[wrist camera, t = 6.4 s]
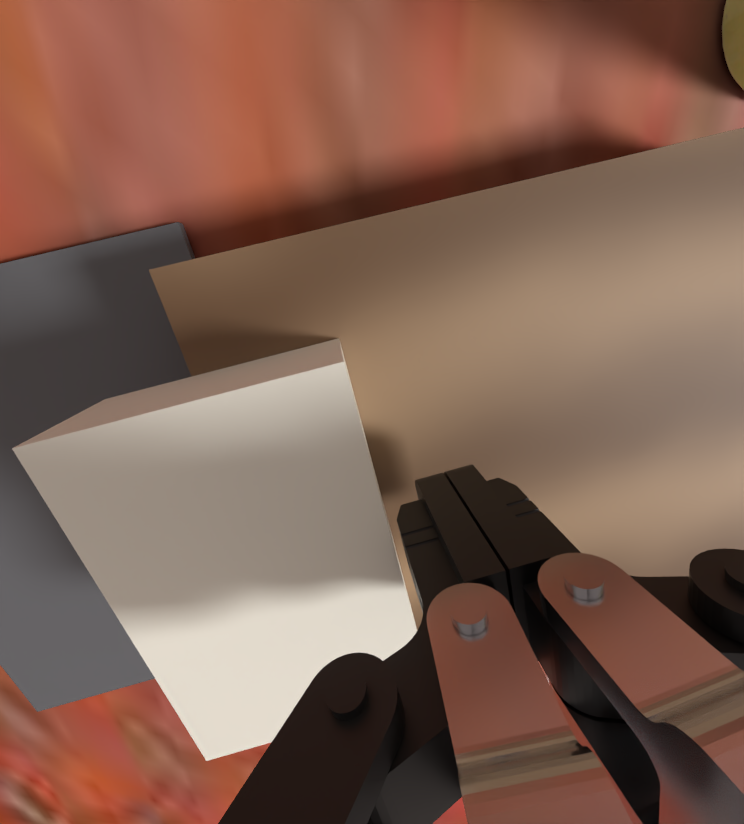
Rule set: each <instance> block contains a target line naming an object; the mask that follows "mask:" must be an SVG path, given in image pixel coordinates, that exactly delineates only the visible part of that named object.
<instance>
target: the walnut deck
mask: <svg viewBox="0 0 744 824" xmlns="http://www.w3.org/2000/svg"><path fill="white" fill-rule="evenodd" d="M149 272H150V274H151V277H152V279H153V282H154V284H155V287H156V289H157V292H158V294H159V297H160V299H161V302H162V304H163V307H164V309H165V312H166V314H167V317H168V319H169V321H170V324H171V326H172V329H173V331H174V334H175V336H176V339H177V341H178V344H179V346H180V349H181V351H182V354H183V356H184V359H185V361H186V364H187V366H188V369H189V371H190V374H191V376H196V375H200V374H204V373H207V372H211V371H215V370H219V369H223V368H227V367H230V366H234V365H238V364H242V363H246V362H250V361H254V360H257V359H261V358H265V357H269V356H273V355H277V354H280V353H284V352H288V351H292V350H296V349H300V348H303V347H307V346H311V345H315V344H319V343H323V342H327V341H330V340H334V339H338V338H339V340H340V344H341V348H342V351H343V355H344V359H345V363H346V366H347V370H348V374H349V377H350V381H351V385H352V389H353V392H354V396H355V400H356V403H357V407H358V411H359V415H360V418H361V422H362V426H363V429H364V433H365V437H366V441H367V444H368V448H369V452H370V456H371V459H372V463H373V467H374V470H375V474H376V478H377V482H378V485H379V489H380V493H381V496H382V500H383V504H384V508H385V511H386V515H387V519H388V523H389V526H390V530H391V534H392V537H393V541H394V545H395V549H396V552H397V556H398V560H399V563H400V567H401V571H402V575H403V578H404V582H405V586H406V590H407V593H408V597H409V601H410V604H411V608H412V612H413V616H414V620H415V624H416V628H417V630H418V628H419V626H420V624H421V621H422V617H423V612H422V609H421V606H420V602H419V599H418V596H417V593H416V589H415V586H414V583H413V579H412V576H411V573H410V570H409V566H408V562H407V558H406V554H405V550H404V547H403V543H402V539H401V535H400V531H399V527H398V523H397V516H398V513H399V509H400V506H401V505H402V504H406V503H409V502H413V501H417V500H418V496H417V491H416V487H415V480H417V479H421V478H424V477H428V476H432V475H435V474H439V473H444V472H446V471H449V470H453V469H456V468H460V467H464V466H467V465H471V464H472V465H474V466H475V468H476V469H477V470H478V471H479V472H480V474H481V475H482V476H483V477H484V478H485V480H486V481H488V480H491V479H495V478H501V479H503V480H505V481H508V482H510V483H512V484H514V485H516V486H518V488H519V489H520V490H521V491H522V492H523V493H524V494H525V495H526V496H527V497H528V498H529V501H532V502H533V503H534V504H535V505H536V506H537V507H538V508H539V511H541V512H542V513H543V514H544V515H545V516H546V517H547V518H548V519H549V520H550V521H551V522H552V523H553V524H554V525H555V526H556V527H557V528H558V529H559V530H560V531H561V532H562V533H563V534H564V535H565V537H566V538H567V539H568V540H569V541H570V542H571V543H572V544H573V545H574V546H575V547H576V548H577V549H578V550H579V551H580V552H581V553H586V554H591V555H595V556H598V557H601V558H603V559H606V560H608V561H610V562H612V563H613V564H615V565H617V566H618V567H619V568H621V569H622V570H623V571H624V572H626V573H627V574H628V575H630V576H639V577H668V576H689V567H690V563H691V561H692V559H693V558H694V557H695V556H696V555H698V554H700V553H701V552H704V551H707V550H712V549H723V548H726V549H739V550H744V128H740V129H736V130H732V131H727V132H723V133H719V134H715V135H711V136H707V137H702V138H698V139H694V140H690V141H686V142H681V143H677V144H673V145H669V146H665V147H660V148H656V149H652V150H648V151H644V152H640V153H635V154H631V155H627V156H623V157H619V158H614V159H610V160H606V161H602V162H598V163H594V164H589V165H585V166H581V167H577V168H573V169H568V170H564V171H560V172H556V173H552V174H547V175H543V176H539V177H535V178H531V179H527V180H522V181H518V182H514V183H510V184H506V185H501V186H497V187H493V188H489V189H485V190H481V191H476V192H472V193H468V194H464V195H460V196H455V197H451V198H447V199H443V200H439V201H435V202H430V203H426V204H422V205H418V206H414V207H409V208H405V209H401V210H397V211H393V212H388V213H384V214H380V215H376V216H372V217H368V218H363V219H359V220H355V221H351V222H347V223H342V224H338V225H334V226H330V227H326V228H322V229H317V230H313V231H309V232H305V233H301V234H296V235H292V236H288V237H284V238H280V239H275V240H271V241H267V242H263V243H259V244H255V245H250V246H246V247H242V248H238V249H234V250H229V251H225V252H221V253H217V254H213V255H209V256H204V257H200V258H196V259H192V260H188V261H183V262H179V263H175V264H171V265H167V266H162V267H158V268H154V269H150V270H149Z"/></svg>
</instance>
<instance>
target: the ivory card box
mask: <svg viewBox="0 0 744 824" xmlns="http://www.w3.org/2000/svg"><path fill="white" fill-rule="evenodd" d="M12 450H13V451H14V453H15V454H16V456H17V458H18V459H19V461H20V462H21V464H22V466H23V467H24V469H25V470H26V472H27V474H28V475H29V477H30V478H31V480H32V482H33V483H34V485H35V486H36V488H37V490H38V491H39V493H40V494H41V496H42V498H43V499H44V501H45V502H46V504H47V506H48V507H49V509H50V510H51V512H52V514H53V515H54V517H55V519H56V520H57V522H58V523H59V525H60V527H61V528H62V530H63V531H64V533H65V535H66V536H67V538H68V539H69V541H70V543H71V544H72V546H73V547H74V549H75V551H76V552H77V554H78V555H79V557H80V559H81V560H82V562H83V563H84V565H85V567H86V568H87V570H88V571H89V573H90V575H91V576H92V578H93V579H94V581H95V583H96V584H97V586H98V588H99V589H100V591H101V592H102V594H103V596H104V597H105V599H106V600H107V602H108V604H109V605H110V607H111V608H112V610H113V612H114V613H115V615H116V616H117V618H118V620H119V621H120V623H121V624H122V626H123V628H124V629H125V631H126V632H127V634H128V636H129V637H130V639H131V640H132V642H133V644H134V645H135V647H136V648H137V650H138V652H139V653H140V655H141V657H142V658H143V660H144V661H145V663H146V665H147V666H148V668H149V669H150V671H151V673H152V674H153V676H154V677H155V679H156V681H157V682H158V684H159V685H160V687H161V689H162V690H163V692H164V693H165V695H166V697H167V698H168V700H169V701H170V703H171V705H172V706H173V708H174V709H175V711H176V713H177V714H178V716H179V717H180V719H181V721H182V722H183V724H184V726H185V727H186V729H187V730H188V732H189V734H190V735H191V737H192V738H193V740H194V742H195V743H196V745H197V746H198V748H199V750H200V751H201V753H202V754H203V756H204V758H205V759H206V761H208V760H211V759H215V758H218V757H222V756H225V755H229V754H232V753H236V752H239V751H243V750H246V749H250V748H253V747H257V746H260V745H264V744H267V743H271V742H272V741H273V740H274V738H275V736H276V735H277V733H278V732H279V730H280V729H281V727H282V726H283V724H284V723H285V721H286V720H287V718H288V717H289V715H290V714H291V712H292V711H293V709H294V708H295V706H296V704H297V703H298V701H299V700H300V698H301V697H302V695H303V694H304V692H305V691H306V689H307V688H308V686H309V685H310V683H311V682H312V680H313V679H314V678H315V676H316V675H317V674H318V673H319V671H320V670H321V669H322V668H323V667H325V666H326V665H327V664H328V663H330V662H331V661H333V660H335V659H336V658H338V657H341V656H343V655H346V654H350V653H359V652H360V653H368V654H371V655H374V656H376V657H378V658H380V659H381V660H382V661H384V660H385V659H386V658H388V657H389V656H391V655H392V654H394V653H395V652H397V651H398V650H400V649H401V648H402V647H404V646H405V645H406V644H407V643H408V642H409V641H410V640H411V639H412V638H413V636H414V635H415V634H416V632H417V628H416V624H415V620H414V616H413V612H412V608H411V604H410V601H409V597H408V593H407V590H406V586H405V582H404V578H403V575H402V571H401V567H400V563H399V560H398V556H397V552H396V549H395V545H394V541H393V537H392V534H391V530H390V526H389V523H388V519H387V515H386V511H385V508H384V504H383V500H382V496H381V493H380V489H379V485H378V482H377V478H376V474H375V470H374V467H373V463H372V459H371V456H370V452H369V448H368V444H367V441H366V437H365V433H364V429H363V426H362V422H361V418H360V415H359V411H358V407H357V403H356V400H355V396H354V392H353V389H352V385H351V381H350V377H349V374H348V370H347V366H346V363H345V359H344V355H343V351H342V348H341V344H340V340H339V338H338V339H334V340H330V341H327V342H323V343H319V344H315V345H311V346H307V347H303V348H300V349H296V350H292V351H288V352H284V353H280V354H277V355H273V356H269V357H265V358H261V359H257V360H254V361H250V362H246V363H242V364H238V365H234V366H230V367H227V368H223V369H219V370H215V371H211V372H207V373H204V374H200V375H196V376H192V377H188V378H184V379H180V380H177V381H173V382H169V383H165V384H161V385H157V386H154V387H150V388H146V389H142V390H138V391H134V392H131V393H127V394H123V395H119V396H115V397H111V398H107V399H104V400H102V401H101V402H99V403H97V404H95V405H93V406H91V407H89V408H87V409H85V410H84V411H82V412H80V413H78V414H76V415H74V416H72V417H70V418H68V419H67V420H65V421H63V422H61V423H59V424H57V425H55V426H53V427H51V428H50V429H48V430H46V431H44V432H42V433H40V434H38V435H36V436H35V437H33V438H31V439H29V440H27V441H25V442H23V443H21V444H19V445H18V446H16V447H14V448H12Z"/></svg>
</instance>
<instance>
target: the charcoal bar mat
mask: <svg viewBox="0 0 744 824" xmlns="http://www.w3.org/2000/svg"><path fill="white" fill-rule="evenodd" d="M192 259H195V256H194V254H193V251H192V248H191V245H190V242H189V240H188V237H187V234H186V231H185V229H184V226H183V224H182V223H179V222H176V223H172V224H168V225H163V226H159V227H155V228H151V229H146V230H142V231H138V232H134V233H129V234H125V235H121V236H117V237H112V238H108V239H104V240H99V241H95V242H91V243H87V244H82V245H78V246H74V247H70V248H65V249H61V250H57V251H53V252H48V253H44V254H40V255H36V256H31V257H27V258H23V259H18V260H14V261H10V262H6V263H1V264H0V665H1V666H2V668H3V669H4V670H5V671H6V673H7V674H8V675H9V676H10V678H11V679H12V680H13V681H14V683H15V684H16V685H17V687H18V688H19V689H20V690H21V692H22V693H23V694H24V695H25V697H26V698H27V699H28V700H29V702H30V703H31V704H32V705H33V707H34V708H35V709H36V711H37V712H38V711H42V710H45V709H49V708H52V707H56V706H59V705H63V704H66V703H70V702H73V701H77V700H80V699H84V698H87V697H91V696H95V695H98V694H102V693H105V692H109V691H112V690H116V689H119V688H123V687H126V686H130V685H133V684H137V683H140V682H144V681H147V680H151V679H154V678H155V677H154V676H153V674H152V673H151V671H150V669H149V668H148V666H147V665H146V663H145V661H144V660H143V658H142V657H141V655H140V653H139V652H138V650H137V648H136V647H135V645H134V644H133V642H132V640H131V639H130V637H129V636H128V634H127V632H126V631H125V629H124V628H123V626H122V624H121V623H120V621H119V620H118V618H117V616H116V615H115V613H114V612H113V610H112V608H111V607H110V605H109V604H108V602H107V600H106V599H105V597H104V596H103V594H102V592H101V591H100V589H99V588H98V586H97V584H96V583H95V581H94V579H93V578H92V576H91V575H90V573H89V571H88V570H87V568H86V567H85V565H84V563H83V562H82V560H81V559H80V557H79V555H78V554H77V552H76V551H75V549H74V547H73V546H72V544H71V543H70V541H69V539H68V538H67V536H66V535H65V533H64V531H63V530H62V528H61V527H60V525H59V523H58V522H57V520H56V519H55V517H54V515H53V514H52V512H51V510H50V509H49V507H48V506H47V504H46V502H45V501H44V499H43V498H42V496H41V494H40V493H39V491H38V490H37V488H36V486H35V485H34V483H33V482H32V480H31V478H30V477H29V475H28V474H27V472H26V470H25V469H24V467H23V466H22V464H21V462H20V461H19V459H18V458H17V456H16V454H15V453H14V451H13V450H12V448H14V447H16V446H18V445H19V444H21V443H23V442H25V441H27V440H29V439H31V438H33V437H35V436H36V435H38V434H40V433H42V432H44V431H46V430H48V429H50V428H51V427H53V426H55V425H57V424H59V423H61V422H63V421H65V420H67V419H68V418H70V417H72V416H74V415H76V414H78V413H80V412H82V411H84V410H85V409H87V408H89V407H91V406H93V405H95V404H97V403H99V402H101V401H102V400H104V399H107V398H111V397H115V396H119V395H123V394H127V393H131V392H134V391H138V390H142V389H146V388H150V387H154V386H157V385H161V384H165V383H169V382H173V381H177V380H180V379H184V378H188V377H192V376H191V374H190V371H189V369H188V366H187V364H186V361H185V359H184V356H183V354H182V351H181V349H180V346H179V344H178V341H177V339H176V336H175V334H174V331H173V329H172V326H171V324H170V321H169V319H168V317H167V314H166V312H165V309H164V307H163V304H162V302H161V299H160V297H159V294H158V292H157V289H156V287H155V284H154V282H153V279H152V277H151V274H150V272H149V270H150V269H154V268H158V267H162V266H167V265H171V264H175V263H179V262H183V261H188V260H192Z"/></svg>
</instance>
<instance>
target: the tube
mask: <svg viewBox="0 0 744 824" xmlns="http://www.w3.org/2000/svg"><path fill="white" fill-rule="evenodd" d="M722 40H723V50H724V54H725V59H726V63H727V65H728V68H729V71H730V73H731V75H732V76H733V78H734V80H735V81H736V82H737V83H738V84H739V85H740V87H741V88H742V89H743V90H744V0H726V4H725V8H724V15H723V23H722Z"/></svg>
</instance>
